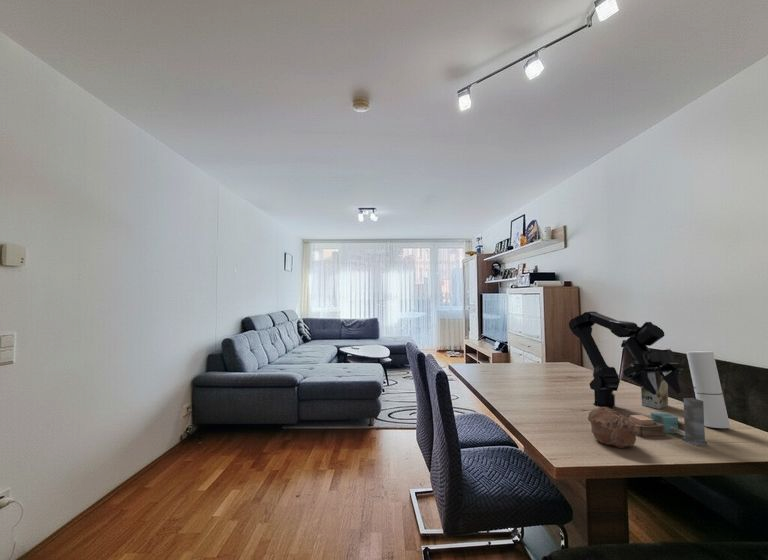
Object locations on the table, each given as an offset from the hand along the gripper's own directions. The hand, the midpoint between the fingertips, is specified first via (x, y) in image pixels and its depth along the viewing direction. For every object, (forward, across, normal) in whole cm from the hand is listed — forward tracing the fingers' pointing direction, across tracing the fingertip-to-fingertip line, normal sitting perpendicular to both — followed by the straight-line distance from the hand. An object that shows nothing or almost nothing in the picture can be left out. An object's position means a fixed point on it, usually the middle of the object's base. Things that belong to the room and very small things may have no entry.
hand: (667, 393), depth 114 cm
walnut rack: (+9, -5, +8) cm, 13 cm away
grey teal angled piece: (+12, -1, +4) cm, 13 cm away
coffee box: (-5, +20, +28) cm, 35 cm away
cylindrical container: (+9, +19, +8) cm, 23 cm away
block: (+9, -9, +8) cm, 15 cm away
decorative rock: (+14, -26, +2) cm, 30 cm away
